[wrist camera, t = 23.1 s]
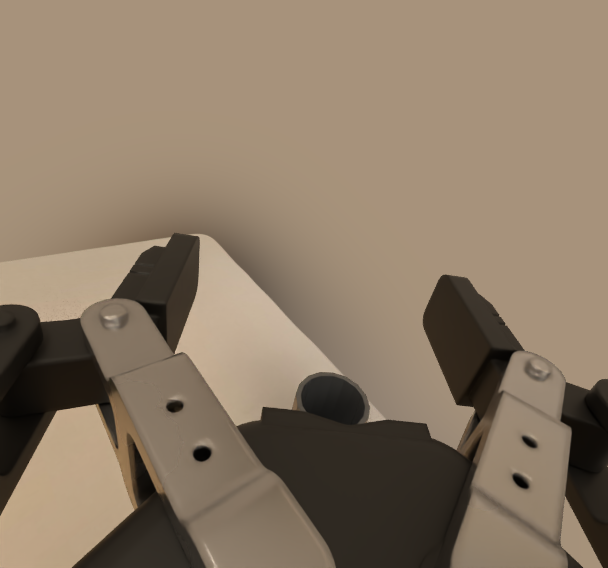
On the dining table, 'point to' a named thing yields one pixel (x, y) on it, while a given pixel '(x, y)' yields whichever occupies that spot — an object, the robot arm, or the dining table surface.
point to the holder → (332, 398)
